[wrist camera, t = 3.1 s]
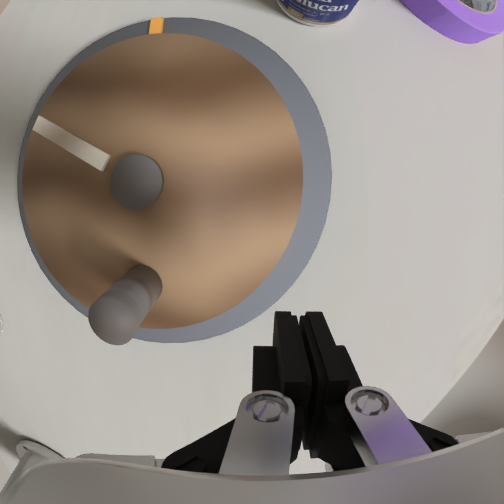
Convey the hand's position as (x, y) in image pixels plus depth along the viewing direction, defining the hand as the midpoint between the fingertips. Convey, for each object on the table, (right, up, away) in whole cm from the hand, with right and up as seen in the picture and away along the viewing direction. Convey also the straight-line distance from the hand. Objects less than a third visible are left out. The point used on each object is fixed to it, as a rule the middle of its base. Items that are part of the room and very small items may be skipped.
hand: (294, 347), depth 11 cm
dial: (-8, +8, +7) cm, 13 cm away
